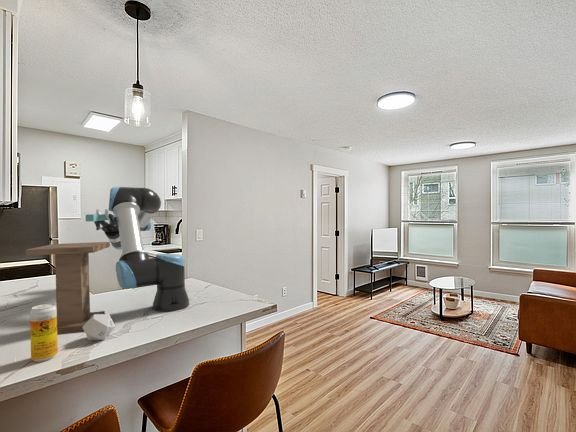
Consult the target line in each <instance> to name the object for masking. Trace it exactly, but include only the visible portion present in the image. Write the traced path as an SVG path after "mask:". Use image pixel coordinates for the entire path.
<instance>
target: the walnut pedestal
mask: <svg viewBox="0 0 576 432" xmlns="http://www.w3.org/2000/svg"><path fill="white" fill-rule="evenodd" d="M107 248H111V242H110V241H99V242H71V243H70V242H68V243H51V244H47V245H42V246H37V247H32V248H27V249H25V256H46V255H50V256H51V255H52V256H53V255H54V262H55V263H54V266H55V301H56V305H55V306H56V308H57V335H59V334H66V333H67V334H69V333H77V332H78V333H79V332H84V330H83V328H82V327H83V326H84V325H85V324H86V323H87V321H88V320H89V319H90V318H91V317H92V316H93V315H94V314H106V311H105V310H102V311H101V310H100V311H91V303H90V301H91V300H90V298H91V297H90V295H91V294H90V263H89V261H90V259H89V254H91V253H92V254H93V253H96V252H98V251H102V250H105V249H107Z"/></svg>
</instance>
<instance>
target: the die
mask: <svg viewBox="0 0 576 432" xmlns="http://www.w3.org/2000/svg"><path fill="white" fill-rule="evenodd" d="M82 328H83V330H84V331H83V332H84V334H85V336H86V337H87V340H88V341H105V340H106V339H107V338H108V337H109V335H111V333H112V332H113V330H114V329H115V328H116V325H115V323H114V321H113V319H112V317H111V315H110V313H105V314H94V315H93V316H92V317H91V318H90V319H89V320H88V321H87V323H86V324H85V325H84V326H83V327H82Z"/></svg>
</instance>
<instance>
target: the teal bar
mask: <svg viewBox="0 0 576 432" xmlns="http://www.w3.org/2000/svg"><path fill="white" fill-rule="evenodd" d="M94 221H105V222H106V221H108V219H107V218H106V216H105V213H103V214H102V213H101V214H96V213H95V214H92V213H91V214H85V222H87V223H88V222H94Z"/></svg>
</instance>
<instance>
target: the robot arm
mask: <svg viewBox="0 0 576 432" xmlns="http://www.w3.org/2000/svg"><path fill="white" fill-rule="evenodd" d="M161 205H162V200H161V197H160V196H159V195H158V193H157V192H155V191H154V190H152V189H150V188H146V187H129V186H128V187H126V186H117V187H116V186H113V187H112V188H110V190H109V200H108V209H105V210H104V214H105V216H106V218H107V219H108V220H107V221H106V220H105V221H93V223H94V224H95V227H96V228H95V230H96V231H99V230H102V232H104V235H106V237H107V239H108V242H110V245H111V246H112V247H113V248H114V249H115V250H118V251H119V250H121V254H122V255H121V256H120V257H119V259H118V261H117V262H116V263H115V274H116V279H117V282H118V285H119V287H120V288H121V289H123V290H128V289H131V290H133V289H138V288H144V287H153V286H156V293H155V296H154V299H153V302H152V309H153V311H156V312H174V311H179V310H183V309H185V308H187V307H189V305H190V298H189V296H188V293H187V290H186V286H185V285H186V281H185V280H186V279H185V277H186V276H185V271H186V270H185V266H186V265H185V258H184V256H183V255H180V254H173V253H158V254H156V255H155V257H150V255H149V253H148V252H146V251H145V248H144V244H143V237H142V234H141V232H146V231H150V230H151V228H152V221H151V220H152V218H153V216H154V215H155V213H157V212H158V211H159V210H160V208H161ZM109 212H111V213H112V214H111V213H109ZM95 214H102V213H101V211H100V210H99V209H98V208H97V209H96V212H95Z"/></svg>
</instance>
